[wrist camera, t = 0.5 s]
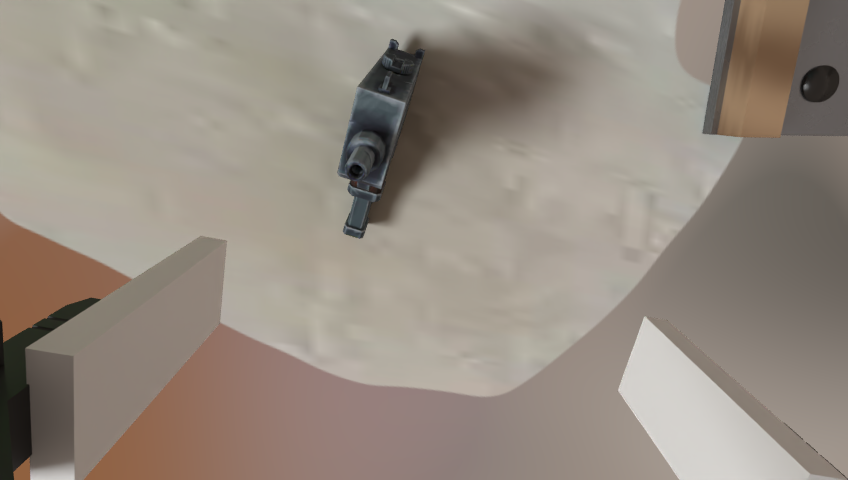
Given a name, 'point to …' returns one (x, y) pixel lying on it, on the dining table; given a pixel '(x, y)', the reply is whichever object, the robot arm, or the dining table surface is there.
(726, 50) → the bolt plate
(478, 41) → the dining table surface
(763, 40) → the wooden clamp
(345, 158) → the gun
